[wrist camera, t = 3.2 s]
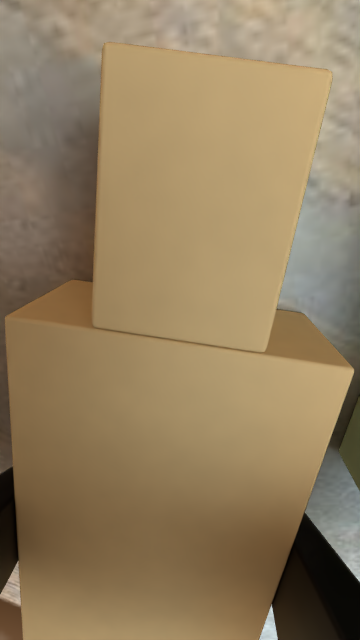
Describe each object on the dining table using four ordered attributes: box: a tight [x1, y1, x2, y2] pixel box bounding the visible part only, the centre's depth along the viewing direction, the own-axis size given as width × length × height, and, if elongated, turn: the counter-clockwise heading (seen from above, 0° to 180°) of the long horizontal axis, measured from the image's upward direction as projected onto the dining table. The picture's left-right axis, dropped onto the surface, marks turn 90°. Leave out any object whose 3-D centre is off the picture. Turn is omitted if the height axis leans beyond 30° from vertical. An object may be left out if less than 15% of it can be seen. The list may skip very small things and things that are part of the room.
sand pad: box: [5, 42, 354, 640], centre depth 8 cm, size 14×6×3 cm, turn 173°
